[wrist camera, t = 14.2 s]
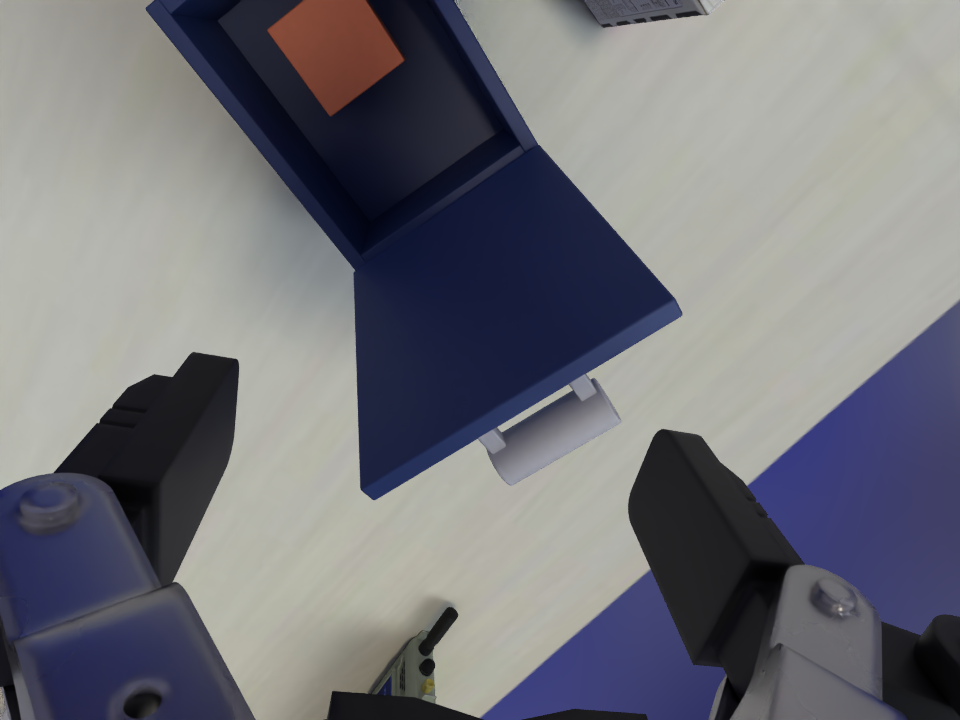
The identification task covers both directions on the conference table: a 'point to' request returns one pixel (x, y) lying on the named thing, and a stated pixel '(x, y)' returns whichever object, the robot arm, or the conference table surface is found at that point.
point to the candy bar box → (647, 10)
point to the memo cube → (337, 48)
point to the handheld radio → (417, 664)
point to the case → (360, 115)
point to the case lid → (496, 328)
